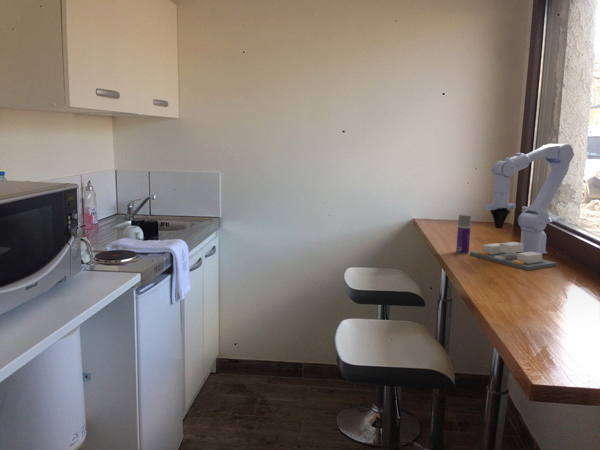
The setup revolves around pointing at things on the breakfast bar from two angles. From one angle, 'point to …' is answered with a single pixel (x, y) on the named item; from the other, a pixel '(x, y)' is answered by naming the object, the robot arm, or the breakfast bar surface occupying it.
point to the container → (463, 234)
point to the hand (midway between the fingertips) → (498, 228)
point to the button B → (511, 247)
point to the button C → (530, 257)
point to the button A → (492, 248)
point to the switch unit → (512, 260)
